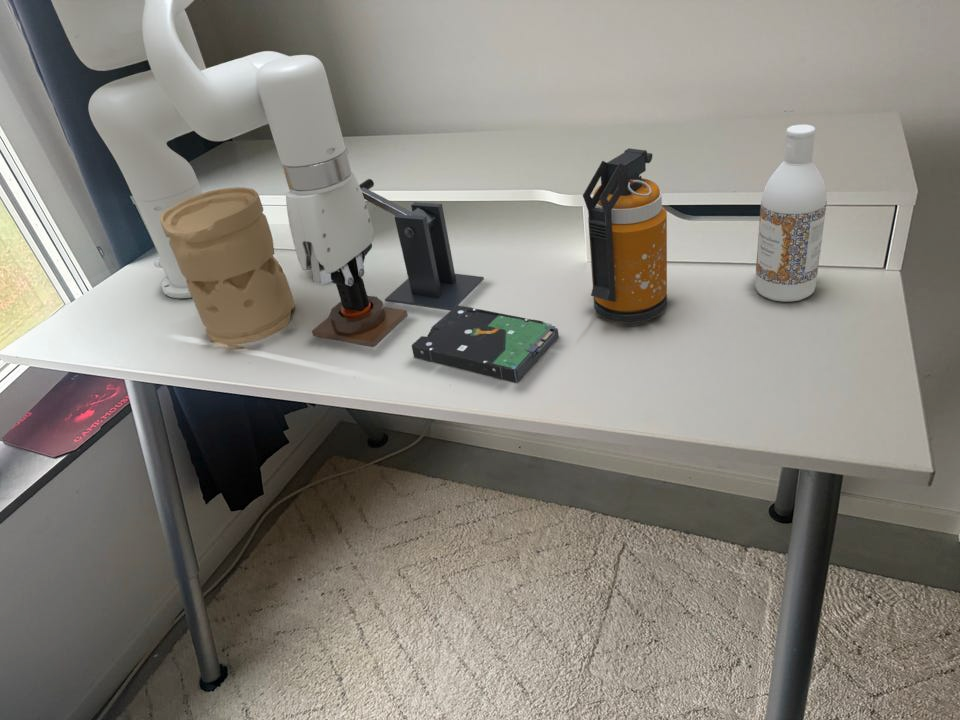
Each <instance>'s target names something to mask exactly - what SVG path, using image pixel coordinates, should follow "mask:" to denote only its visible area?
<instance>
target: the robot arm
mask: <svg viewBox="0 0 960 720" xmlns="http://www.w3.org/2000/svg"><path fill="white" fill-rule="evenodd" d="M50 1H51V3H52V6H53V8H54V11H55V13H56V15H57V17H58V20H59V21H60V25H61V26H62V29H63V31H64V33H65V36H66V37H67V39H68V42H69V43H70V46H71V48H72V50H73V51H74V53H75V55H76V56H77V57H78V59H79V61H81V63H82V64H83V65H84V66H86V68H88V69H90V70H92V71H93V70H94V71H99V72H100V71H101V72H105V71H106V72H107V71H112V70H116V69H121V68H124V67H127V66H131V65H135V64H138V63H141V62H145V61H147V62H148V65H149V67H150V69H149V70H146V71H143V72H137V73H135V74H131V75H128V76H124V77H121V78H119V79H115V80H112V81H110V82H108V83H106V84H103V85H102V86H100V87H98V88H97V89H96V90H95V91H94V92H93V93H92V94H91V97H90V99H89V102H88V114H89V116H90V120H91V123H92V125H93V126H94V128H95V130H96V132H97V133H98V135H99V136H100V138H101V139H102V141H103V142H104V144H105V145H106V147H107V149H108V150H109V152H110V153H111V155H112V157H113V158H114V160H115V162H116V164H117V166H118V168H119V169H120V172H121V174H122V176H123V177H124V179H125V182H126V184H127V186H128V188H129V191H130V193H131V195H132V198H133V199H134V202H135V204H136V206H137V208H138V212H139V213H140V215H141V218H142V220H143V222H144V224H145V226H146V229H147V231H148V233H149V236H150V238H151V241H152V242H153V246H154V247H155V249H156V252H157V254H158V256H159V258H156V259H155V260H154V262H153V264H154V267H155V268H159V269H163V270H162V271H163V272H164V274H165V277H164V278H163V280H162V282H161V284H160V286H161V289H162V291H163V294H164V295H166V296H167V297H169V298H173V299H191V298H192V297H191V294H190V292H189V289H188V286H187V282H186V281H187V280H186V278H185V277H184V276H183V275H182V273H181V271H180V268H179V266H178V263H177V260H176V258H175V256H174V253H173V251H172V249H171V247H170V244H169V241H170V238H168V237H166V235H165V233H164V231H163V228H162V225H161V222H160V216H161V215H162V213H163V212H164V211H166V210H168V209H169V208H171V207H173V206H174V205H176V204H178V203H180V202H181V201H183V200H186V199H188V198H190V197H193V196H196V195H199V194H202V193H203V189H202V188H201V185H200V182H199V180H198V178H197V174H196V172H195V171H194V169H193V168H194V167H192V165H191V164H190V162H188V160H187V159H186V158H185V157H183V156H181V155H180V154H179V153H177V152H175V151H174V150H173V149H171V148H170V147H169V146H168V144H167V143H168V142H170V141H171V140H174V139H176V138H178V137H181V136H184V135H186V134H189V133H191V132H195V133H196V134H197V135H199V137H201V138H203V139H206V140H208V141H211V142H225V141H228V140H230V139H231V140H232V139H234V138H236V137H238V136H242V135H244V134H246V133H248V132H251V131H253V130H256V129H258V128H261V127H263V126H266V125H268V126H269V128H270V132H271V135H272V139H273V142H274V145H275V148H276V152H277V155H278V157H279V161H280V163H281V164H280V165H281V168H282V170H283V175H284V178H285V181H286V184H287V186H288V190H289V191H288V192H287V193H286V194H285V202H286V212H287V213H286V214H287V219H288V224H289V229H290V234H291V238H292V242H293V246H294V250H295V253H296V257H297V260H298V264H299V265H300V268H301V269H302V270H303V271H310V270H311V274H312V282H313V284H314V285H319V286H320V285H321V286H326V285H327V284H330V283H331V284H332V285H336V289H337V292H338V296H339V299H340V302H342V306H343V308H345V309H350V310H356V311H362V310H363V309H364V307H367V306H368V305H369V301H368V297H367V295H368V294H367V290H366V287H365V286H366V285H365V283H364V279H363V277H364V276H365V273H366V272H365V265H364V263H365V259H366V256H367V255H368V253H369V252H370V251H371V250H372V248H373V243H372V242H373V241H374V238H375V236H374V235H375V234H374V228H373V223H372V219H371V215H370V211H369V208H368V206H367V201H366V200H365V199H364V196H363V194H362V191H361V188H360V186H359V185H360V184H359V181H358V179H357V177H356V175H355V173H354V171H353V170H352V168H351V165H350V161H349V157H348V154H349V151H348V149H347V147H346V145H345V141H344V137H343V133H342V128H341V126H340V122H339V117H338V114H337V110H336V106H335V102H334V99H333V95H332V91H331V88H330V87H331V86H330V83H329V79H328V76H327V75H328V74H327V72H326V68H325V66H324V64H323V62H322V61H321V60H320V59H319V58H318V57H316V56H314V55H312V54H311V55H310V54H296V55H287V54H285V53H281V52H278V51H272V50H265V51H264V50H263V51H259V52H255V53H252V54H249V55H246V56H242V57H240V58H235V59H233V60H229V61H226V62H222V63H219V64H217V65H214V66H210V67H206V64H205V61H204V59H203V56H202V53H201V50H200V47H199V44H198V42H197V38H196V35H195V33H194V30H193V27H192V25H191V22H190V19H189V17H188V14H187V12H186V10H185V9H187V8H188V7H189V6H190V5H191V4H192V3H194V2H195V0H50ZM337 270H339V271H340V272H338V271H337ZM192 299H193V298H192Z"/></svg>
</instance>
